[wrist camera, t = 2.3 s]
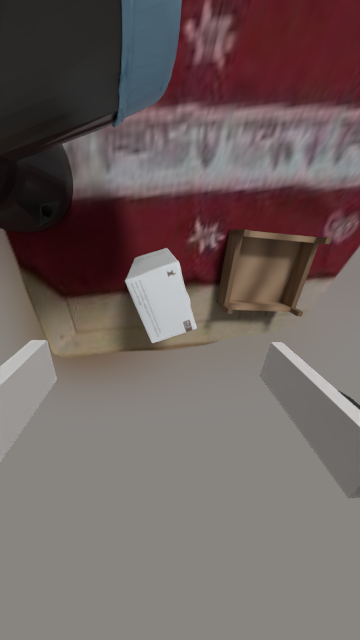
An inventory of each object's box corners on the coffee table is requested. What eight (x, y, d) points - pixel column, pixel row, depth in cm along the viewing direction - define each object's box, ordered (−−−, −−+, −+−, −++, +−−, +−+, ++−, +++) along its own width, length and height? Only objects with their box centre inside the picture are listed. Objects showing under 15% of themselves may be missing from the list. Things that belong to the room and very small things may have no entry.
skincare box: (134, 257, 31) (118, 276, 18) (169, 246, 31) (178, 257, 17) (151, 302, 35) (148, 346, 21) (182, 292, 34) (199, 330, 21)
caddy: (216, 301, 36) (227, 314, 31) (229, 230, 31) (244, 229, 25) (280, 304, 38) (301, 316, 32) (302, 237, 33) (331, 238, 27)
